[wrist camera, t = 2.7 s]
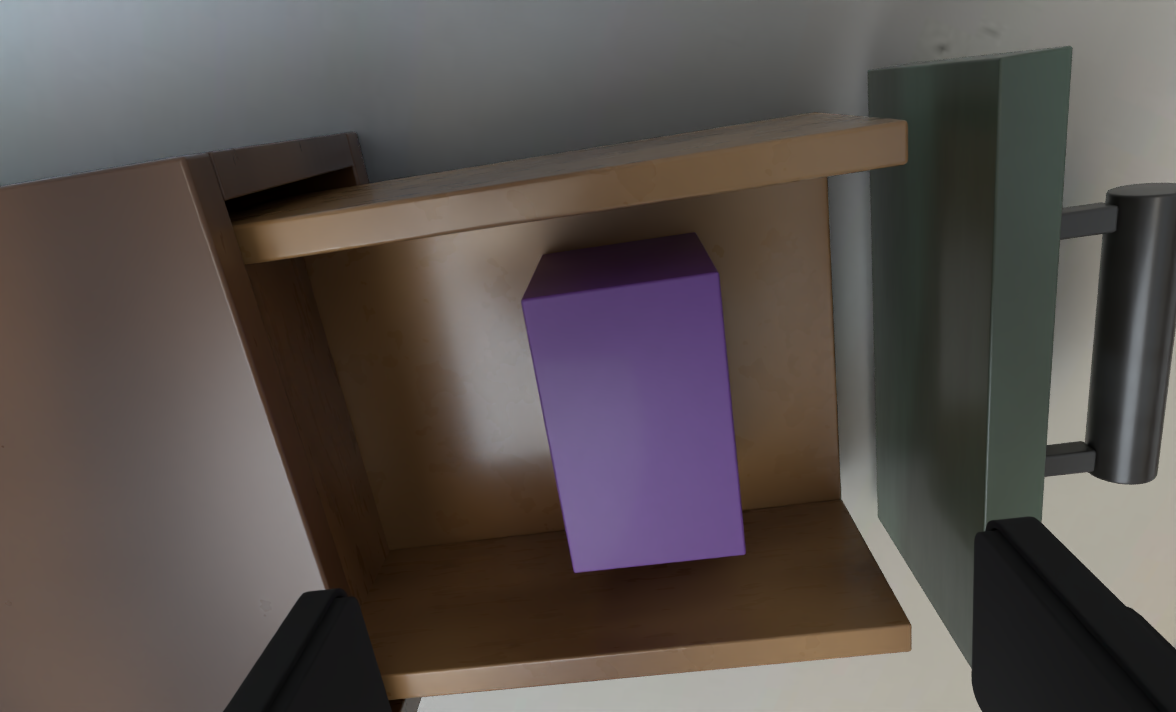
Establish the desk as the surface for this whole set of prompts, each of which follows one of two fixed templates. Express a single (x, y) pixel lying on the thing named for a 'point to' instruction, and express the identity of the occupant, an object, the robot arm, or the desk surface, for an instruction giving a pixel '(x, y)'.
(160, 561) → the desk cabinet
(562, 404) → the purple block
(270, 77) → the desk surface
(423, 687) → the drawer
